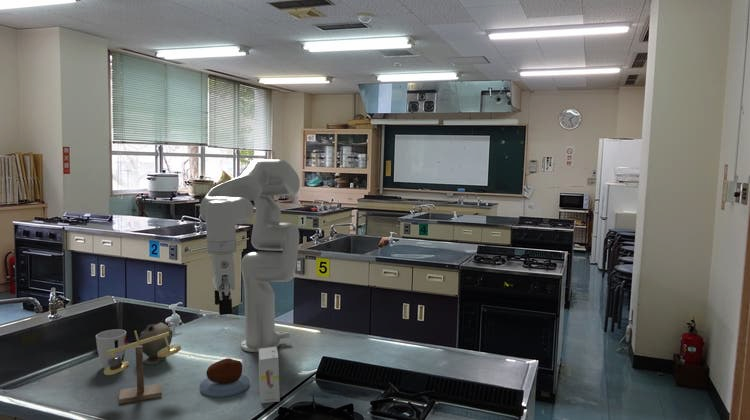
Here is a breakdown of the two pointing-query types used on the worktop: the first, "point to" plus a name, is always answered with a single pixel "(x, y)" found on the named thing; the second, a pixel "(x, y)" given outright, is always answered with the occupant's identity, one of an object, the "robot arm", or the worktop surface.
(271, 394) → the ink box
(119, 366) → the balance beam
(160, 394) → the balance stand
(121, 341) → the cup
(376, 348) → the worktop surface
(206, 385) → the plate
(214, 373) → the potato
